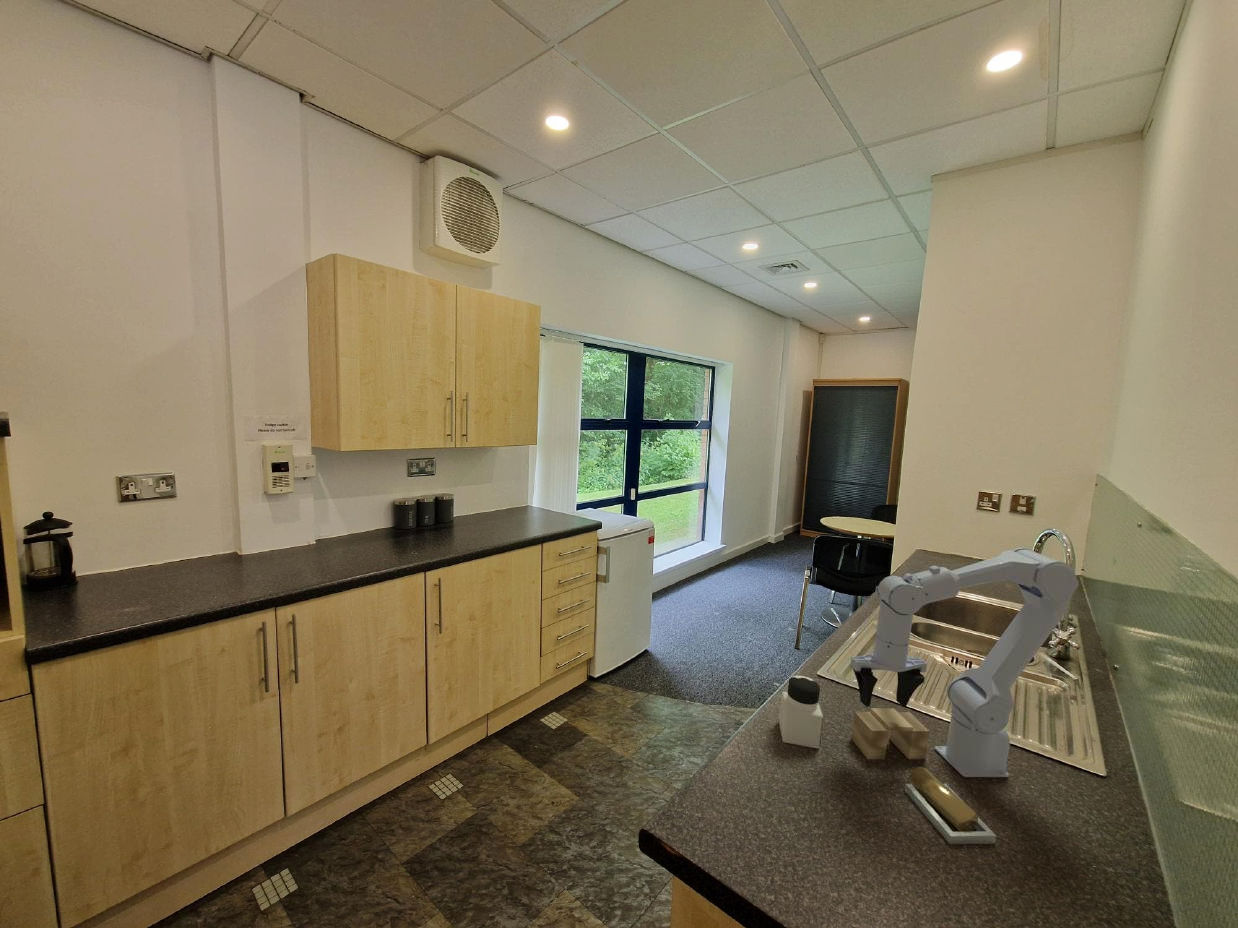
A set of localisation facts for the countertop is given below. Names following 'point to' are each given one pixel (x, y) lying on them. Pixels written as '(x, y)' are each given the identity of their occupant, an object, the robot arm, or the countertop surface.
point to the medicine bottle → (801, 713)
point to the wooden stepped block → (904, 733)
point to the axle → (943, 800)
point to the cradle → (951, 837)
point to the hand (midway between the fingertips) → (883, 703)
